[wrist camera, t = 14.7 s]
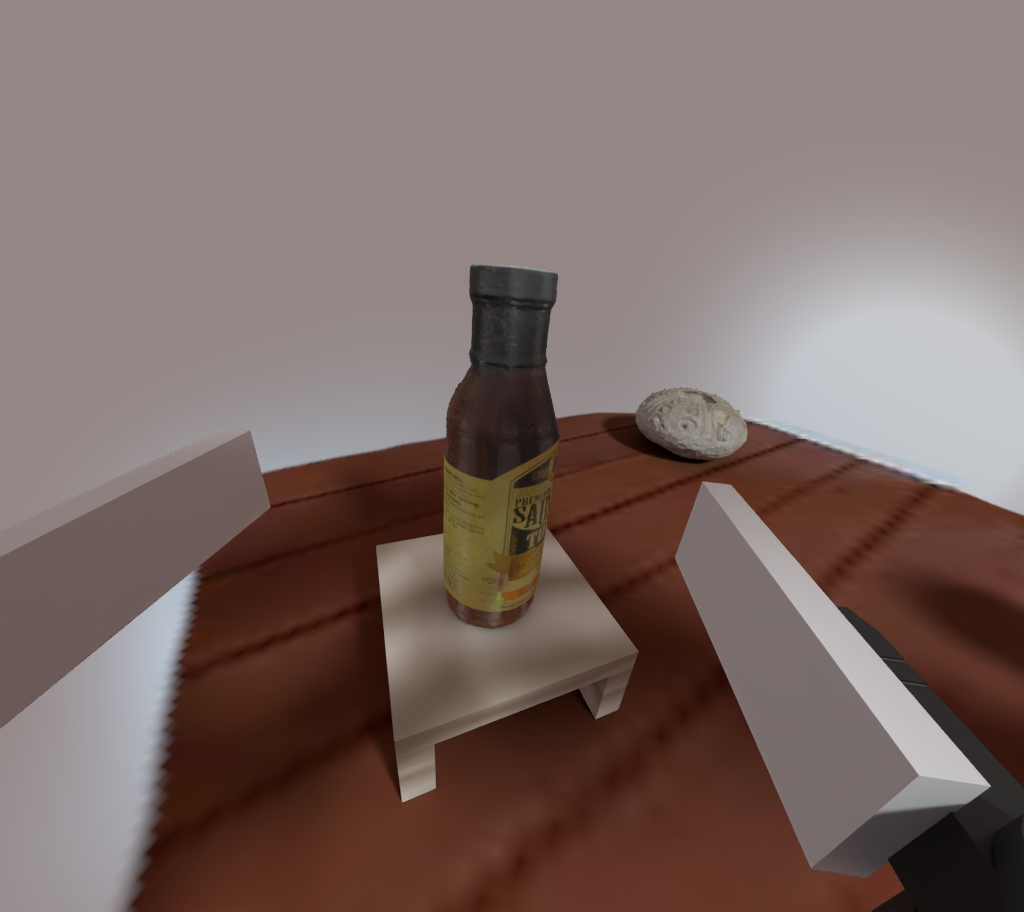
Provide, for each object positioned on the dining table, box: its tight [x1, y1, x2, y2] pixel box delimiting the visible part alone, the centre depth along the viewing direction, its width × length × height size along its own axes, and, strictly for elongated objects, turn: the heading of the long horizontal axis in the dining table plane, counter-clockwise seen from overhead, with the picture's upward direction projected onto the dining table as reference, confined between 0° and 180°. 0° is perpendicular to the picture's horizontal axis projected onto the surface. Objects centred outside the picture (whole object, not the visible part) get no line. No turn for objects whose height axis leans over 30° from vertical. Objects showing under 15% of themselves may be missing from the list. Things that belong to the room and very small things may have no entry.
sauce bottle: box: [443, 264, 560, 629], centre depth 20 cm, size 7×6×20 cm
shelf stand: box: [376, 527, 639, 802], centre depth 26 cm, size 14×14×6 cm
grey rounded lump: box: [635, 387, 747, 460], centre depth 63 cm, size 18×18×10 cm
